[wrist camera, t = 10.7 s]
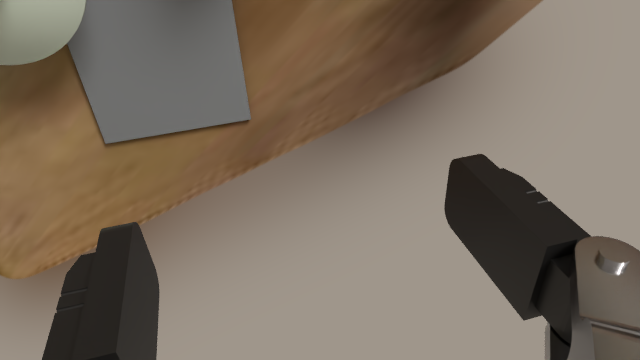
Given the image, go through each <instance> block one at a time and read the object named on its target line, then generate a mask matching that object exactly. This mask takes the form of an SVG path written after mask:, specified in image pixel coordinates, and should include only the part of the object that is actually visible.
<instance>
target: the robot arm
mask: <svg viewBox="0 0 640 360" xmlns="http://www.w3.org/2000/svg"><path fill="white" fill-rule="evenodd" d="M445 215H446V219H447V221H448V224H449V225H450V227H451V229H452V230H453V231H454V232H455V234H456V235H457V236H458V237H459V239H460V240H461V241H462V243H463V244H464V245H465V246H466V248H467V249H468V250H469V251H470V253H471V254H472V255H473V257H474V258H475V259H476V260H477V262H478V263H479V264H480V266H481V267H482V268H483V269H484V270H485V272H486V273H487V274H488V276H489V277H490V278H491V279H492V281H493V282H494V283H495V285H496V286H497V287H498V288H499V290H500V291H501V292H502V293H503V295H504V296H505V297H506V299H507V300H508V301H509V302H510V304H511V305H512V306H513V308H514V309H515V310H516V311H517V313H518V314H519V315H520V316H521V318H522V319H523V320H527V319H531V318H534V317H538V316H541V315H542V316H543V317H544V318H545V319H546V320H547V322H548V323H547V326H546V328H545V360H640V251H639V250H638V249H636V248H634V247H633V246H631V245H629V244H627V243H625V242H623V241H620V240H617V239H614V238H609V237H603V236H593V237H591V236H590V235H589V234H588V233H587V232H585V231H584V230H583V229H582V228H581V227H580V226H578V225H577V224H576V223H575V222H574V221H573V220H571V219H570V218H569V217H568V216H567V215H566V214H564V213H563V212H562V211H561V210H560V209H559V208H557V207H556V206H555V205H554V204H553V203H552V202H551V201H550V202H548V200H547V198H546V197H545V196H543V195H542V194H541V193H540V192H537V191H536V189H535V188H534V187H533V186H532V185H531V184H530V183H529V182H527V181H526V180H525V179H524V178H523V177H521V176H519V175H517V174H514V173H512V172H510V171H508V170H506V169H504V168H503V169H499V168H498V167H497V166H496V165H495V164H494V163H493V162H491V161H490V160H489V159H488V158H487V157H486V156H485V155H483V154H477V155H473V156H467V157H462V158H458V159H454V160H452V162H451V164H450V168H449V175H448V183H447V191H446V198H445ZM56 310H57V313H55V315H54V319H53V323H52V326H51V330H50V333H49V336H48V340H47V344H46V347H45V350H44V354H43V357H42V360H156V353H157V331H158V310H159V283H158V277H157V273H156V269H155V266H154V264H153V261H152V258H151V255H150V253H149V250H148V248H147V245H146V242H145V240H144V237H143V234H142V232H141V229H140V227H139V225H138V224H137V223H136V222H133V223H128V224H123V225H118V226H113V227H108V228H103V229H101V231H100V234H99V239H98V243H97V248H96V252H95V253H90V254H86V255H81V256H80V257H79V258H78V260H77V261H76V262H75V264H74V265H73V266H72V267H71V269H70V270H69V271H68V272H67V274H66V277H65V280H64V284H63V287H62V291H61V297H60V298H59V301H58V305H57V308H56Z"/></svg>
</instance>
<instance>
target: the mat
mask: <svg viewBox="0 0 640 360" xmlns="http://www.w3.org/2000/svg"><path fill="white" fill-rule="evenodd" d="M67 44H68V47H69V50H70V52H71V55H72V57H73V60H74V63H75V65H76V68H77V71H78V73H79V76H80V78H81V81H82V84H83V86H84V89H85V91H86V94H87V97H88V99H89V102H90V104H91V107H92V110H93V112H94V115H95V118H96V120H97V123H98V125H99V128H100V131H101V133H102V136H103V138H104V141H105V144H107V143H113V142H119V141H125V140H131V139H137V138H143V137H149V136H155V135H161V134H167V133H173V132H179V131H185V130H191V129H197V128H202V127H208V126H214V125H220V124H226V123H232V122H238V121H244V120H250V119H251V116H250V110H249V104H248V98H247V92H246V86H245V79H244V73H243V67H242V61H241V55H240V48H239V42H238V36H237V30H236V24H235V18H234V11H233V5H232V0H87V4H86V10H85V13H84V16H83V19H82V21H81V23H80V25H79V28H78V29H77V31H76V32H75V33H74V35H73V36H72V38H71V39H70V40H69V41H68V42H67Z"/></svg>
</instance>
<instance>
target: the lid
mask: <svg viewBox="0 0 640 360" xmlns="http://www.w3.org/2000/svg"><path fill="white" fill-rule="evenodd" d="M86 4H87V0H0V65H21V64H27V63H32V62H36V61H38V60H41V59H44V58H46V57H48V56H50V55H52V54H54V53H55V52H57V51H58V50H60V49H61V48H62V47H63V46H64V45H65V44H66V43H67V42H68V41H69V40H70V39H71V38H72V36H73V35H74V33H75V32H76V31H77V29H78V28H79V25H80V23H81V21H82V19H83V16H84V13H85V10H86Z"/></svg>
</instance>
